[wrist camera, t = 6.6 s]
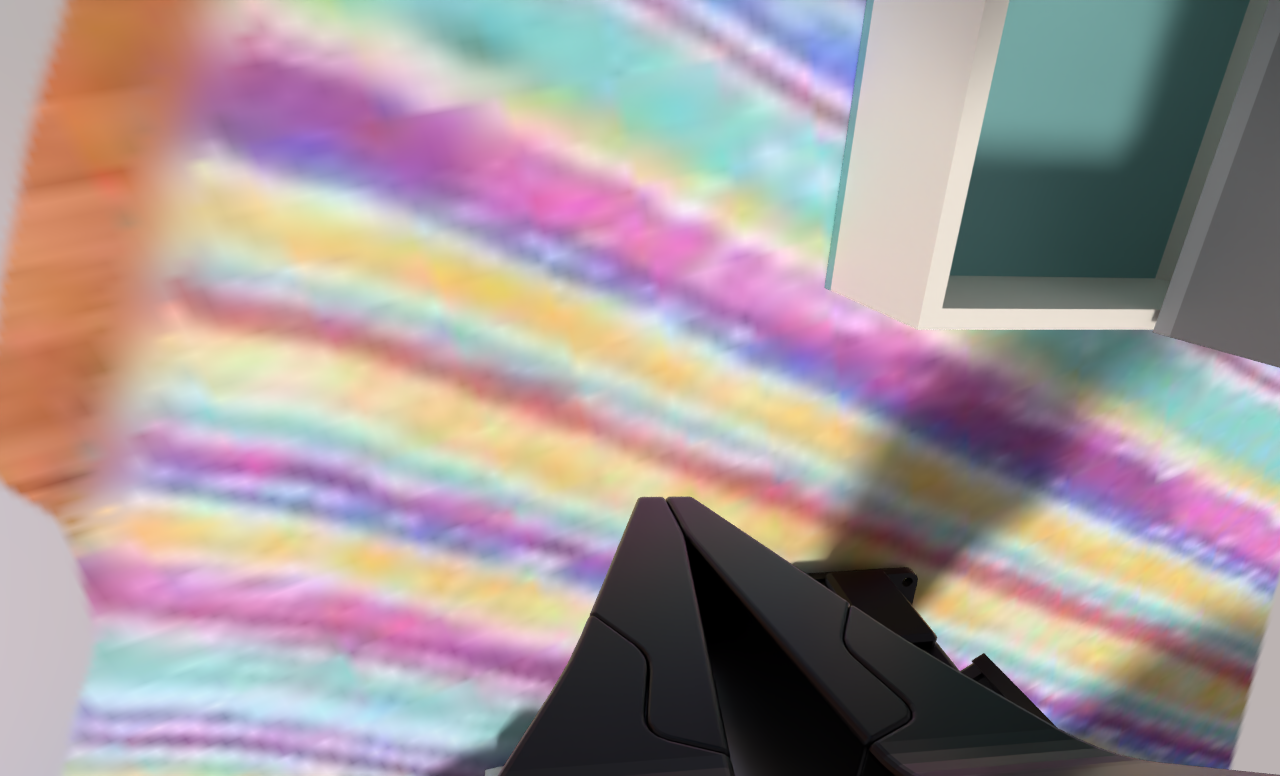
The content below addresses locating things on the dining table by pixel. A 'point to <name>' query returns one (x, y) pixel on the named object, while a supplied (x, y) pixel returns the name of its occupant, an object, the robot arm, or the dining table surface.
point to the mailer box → (1031, 157)
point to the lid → (1237, 224)
